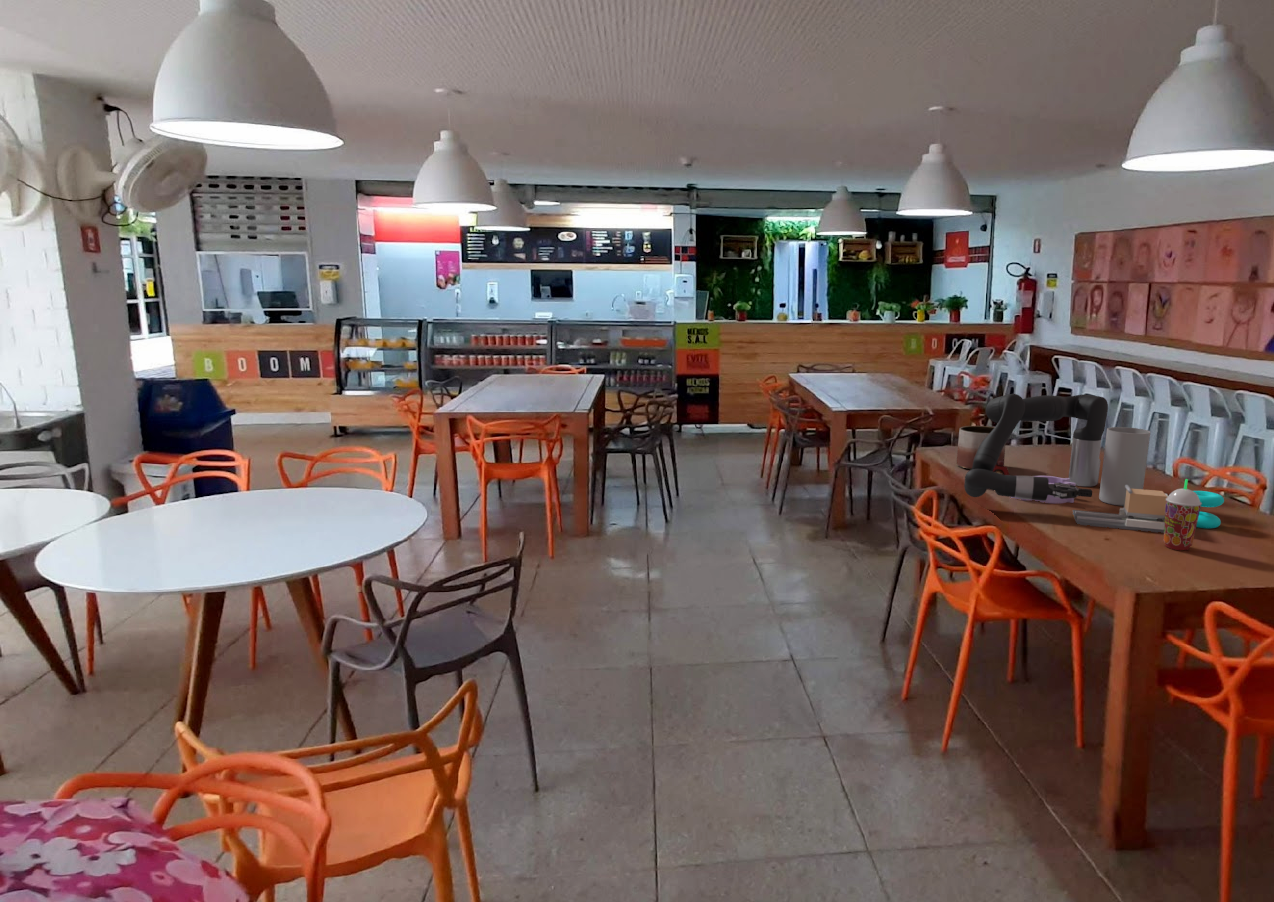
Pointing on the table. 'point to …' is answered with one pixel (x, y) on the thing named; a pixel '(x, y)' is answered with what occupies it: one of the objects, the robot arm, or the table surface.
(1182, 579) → the table surface
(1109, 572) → the table surface
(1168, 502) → the smoothie
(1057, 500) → the clip
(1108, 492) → the cylinder vase
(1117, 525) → the dock
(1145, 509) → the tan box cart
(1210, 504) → the donuts
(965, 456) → the planter
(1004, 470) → the toy fire truck
